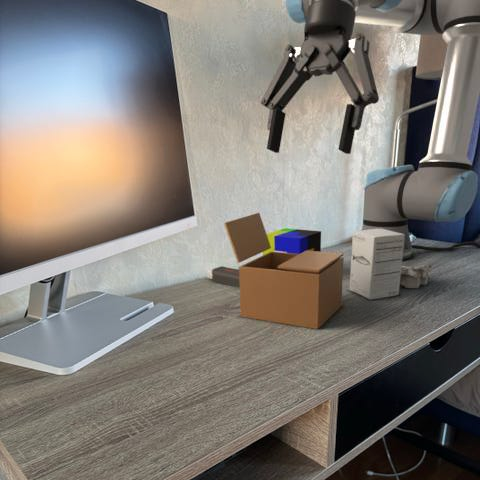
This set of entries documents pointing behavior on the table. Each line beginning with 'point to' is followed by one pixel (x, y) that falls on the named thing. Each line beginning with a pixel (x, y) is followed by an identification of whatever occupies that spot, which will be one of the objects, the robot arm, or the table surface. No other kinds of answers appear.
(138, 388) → the table surface
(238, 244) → the flap
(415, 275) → the egg carton
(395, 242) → the white packaging box
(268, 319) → the carton
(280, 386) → the table surface
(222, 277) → the usb drive
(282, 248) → the puzzle toy
